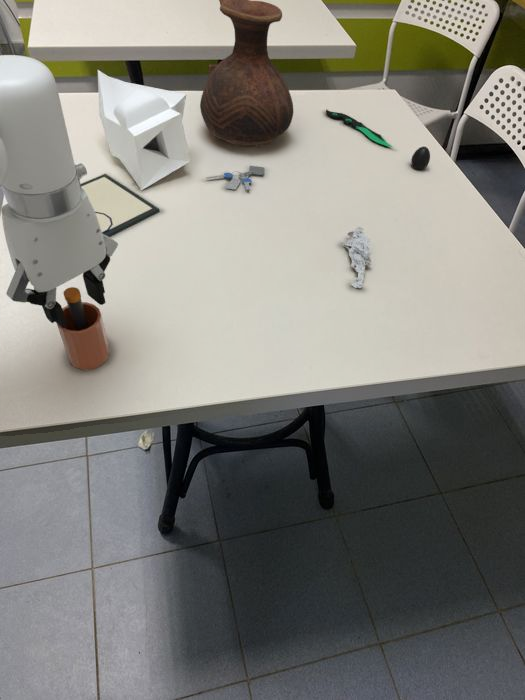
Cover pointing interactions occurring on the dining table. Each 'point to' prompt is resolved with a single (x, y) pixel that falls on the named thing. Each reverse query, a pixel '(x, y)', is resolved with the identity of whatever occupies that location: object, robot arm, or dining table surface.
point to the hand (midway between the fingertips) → (77, 309)
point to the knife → (358, 127)
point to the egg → (420, 158)
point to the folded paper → (143, 128)
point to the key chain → (235, 182)
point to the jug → (247, 81)
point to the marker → (76, 308)
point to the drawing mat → (116, 204)
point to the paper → (358, 253)
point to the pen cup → (85, 339)
